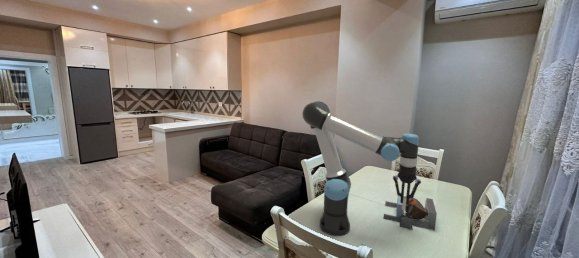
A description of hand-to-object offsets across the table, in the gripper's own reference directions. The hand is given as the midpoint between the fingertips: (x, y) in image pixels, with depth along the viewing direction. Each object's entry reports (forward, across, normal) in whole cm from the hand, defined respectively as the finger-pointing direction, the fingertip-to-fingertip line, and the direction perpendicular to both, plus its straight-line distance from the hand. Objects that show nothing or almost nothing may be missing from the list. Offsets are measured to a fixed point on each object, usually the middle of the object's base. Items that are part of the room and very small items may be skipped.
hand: (403, 209), depth 120 cm
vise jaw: (+9, +1, -11) cm, 14 cm away
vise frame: (+9, -3, -9) cm, 13 cm away
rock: (+9, -5, -11) cm, 15 cm away
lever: (+5, -2, 0) cm, 5 cm away
